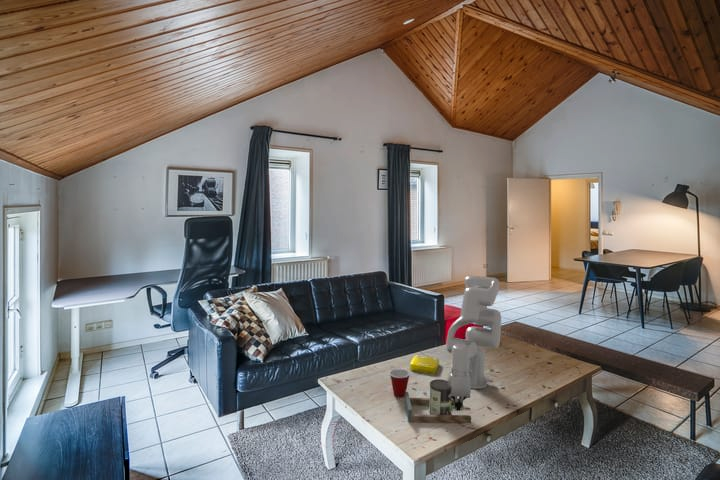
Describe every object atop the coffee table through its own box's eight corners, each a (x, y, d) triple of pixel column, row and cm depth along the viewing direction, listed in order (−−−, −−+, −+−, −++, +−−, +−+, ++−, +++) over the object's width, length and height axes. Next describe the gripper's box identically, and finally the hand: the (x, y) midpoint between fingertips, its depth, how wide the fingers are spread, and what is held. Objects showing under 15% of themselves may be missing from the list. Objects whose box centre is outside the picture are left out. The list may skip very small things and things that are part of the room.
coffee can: (451, 409, 184) (452, 380, 182) (450, 420, 174) (451, 391, 173) (430, 405, 187) (431, 377, 185) (427, 416, 177) (428, 387, 175)
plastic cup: (401, 387, 204) (401, 365, 203) (414, 396, 195) (414, 374, 194) (384, 392, 199) (384, 370, 197) (396, 402, 190) (397, 379, 188)
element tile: (409, 370, 225) (409, 363, 225) (415, 360, 239) (415, 353, 239) (435, 375, 220) (435, 367, 219) (439, 364, 234) (439, 357, 233)
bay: (462, 404, 188) (462, 392, 187) (471, 423, 172) (471, 410, 171) (404, 403, 188) (405, 391, 188) (408, 422, 173) (408, 409, 172)
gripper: (473, 368, 181) (471, 405, 183) (441, 367, 182) (440, 404, 183) (478, 375, 174) (476, 413, 176) (445, 375, 174) (443, 413, 176)
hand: (458, 409), depth 180 cm, fingers closed
